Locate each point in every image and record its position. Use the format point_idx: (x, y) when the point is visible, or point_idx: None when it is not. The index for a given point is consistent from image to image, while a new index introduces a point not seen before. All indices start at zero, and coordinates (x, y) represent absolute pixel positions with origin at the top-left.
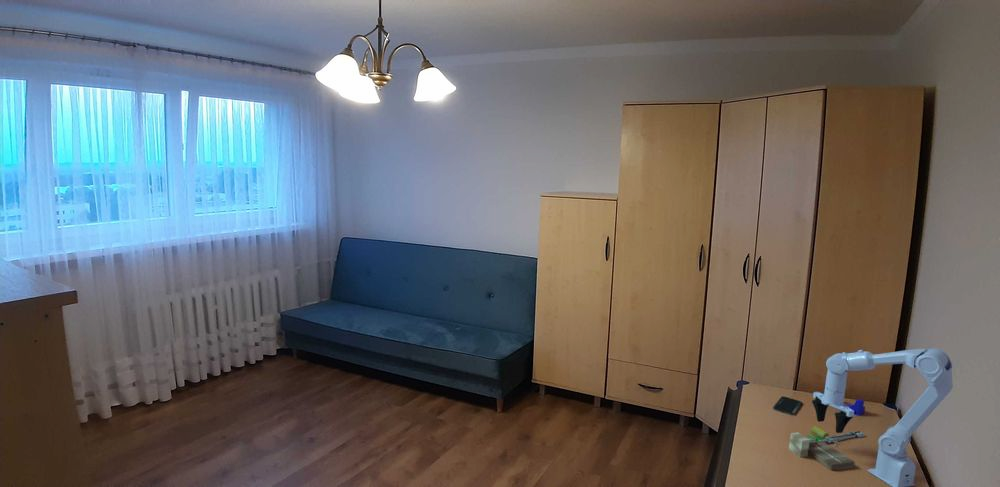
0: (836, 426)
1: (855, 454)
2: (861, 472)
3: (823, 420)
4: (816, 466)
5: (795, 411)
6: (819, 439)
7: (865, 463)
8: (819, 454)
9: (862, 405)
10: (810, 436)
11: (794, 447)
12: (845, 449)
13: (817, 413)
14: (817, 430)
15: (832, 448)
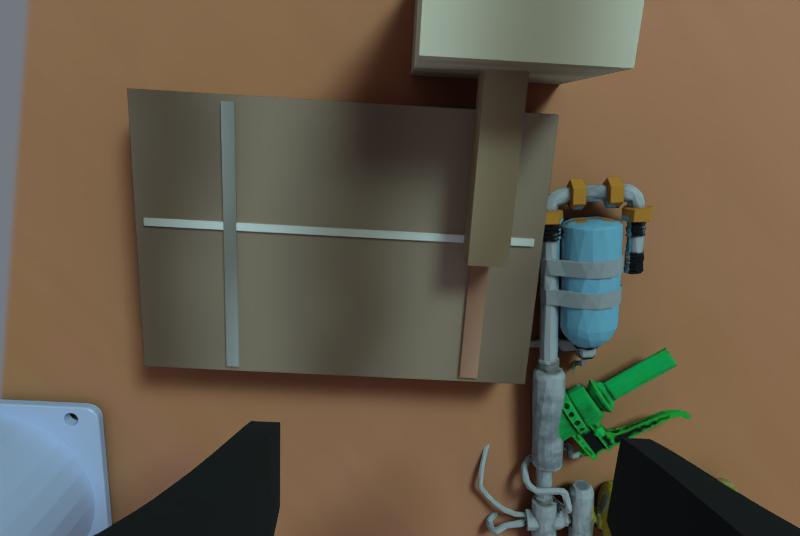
0: (235, 468)
1: (334, 522)
2: (93, 341)
3: (613, 527)
4: (238, 2)
5: None
6: (573, 404)
7: None
8: (322, 132)
9: None
10: (645, 369)
11: None
12: (415, 511)
13: (729, 509)
14: None
15: (386, 365)
